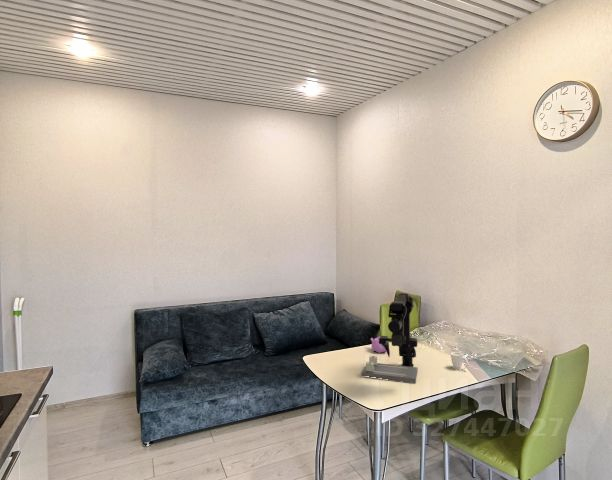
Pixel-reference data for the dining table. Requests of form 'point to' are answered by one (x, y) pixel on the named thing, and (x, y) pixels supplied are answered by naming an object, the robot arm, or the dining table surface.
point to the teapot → (377, 345)
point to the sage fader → (370, 366)
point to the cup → (457, 360)
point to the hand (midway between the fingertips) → (398, 357)
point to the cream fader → (373, 359)
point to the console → (393, 372)
